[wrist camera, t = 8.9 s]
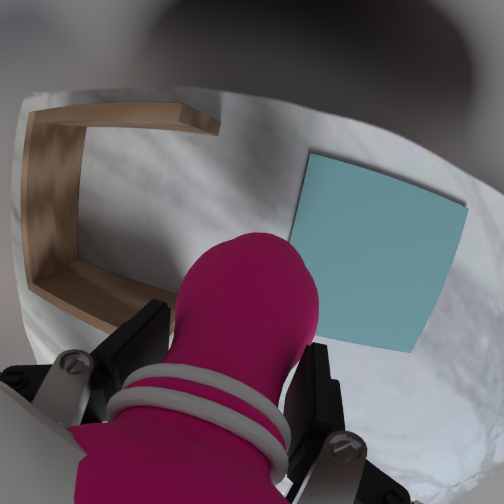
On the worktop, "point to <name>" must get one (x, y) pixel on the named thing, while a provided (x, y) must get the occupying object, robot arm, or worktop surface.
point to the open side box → (66, 208)
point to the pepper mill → (210, 388)
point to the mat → (374, 252)
